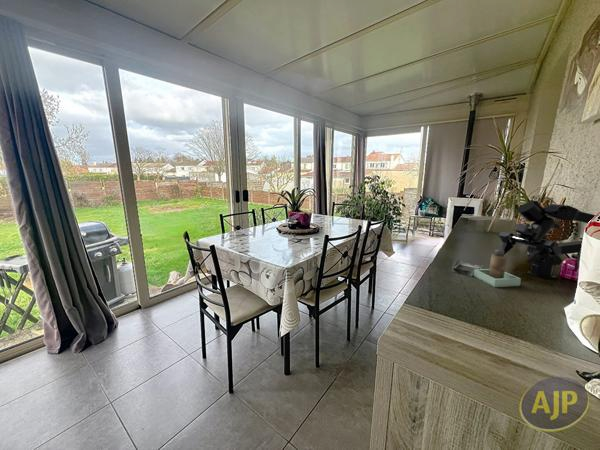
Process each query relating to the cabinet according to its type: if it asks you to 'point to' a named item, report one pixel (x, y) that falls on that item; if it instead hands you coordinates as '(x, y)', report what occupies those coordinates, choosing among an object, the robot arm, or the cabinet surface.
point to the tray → (503, 282)
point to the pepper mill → (497, 264)
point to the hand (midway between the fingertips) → (513, 258)
